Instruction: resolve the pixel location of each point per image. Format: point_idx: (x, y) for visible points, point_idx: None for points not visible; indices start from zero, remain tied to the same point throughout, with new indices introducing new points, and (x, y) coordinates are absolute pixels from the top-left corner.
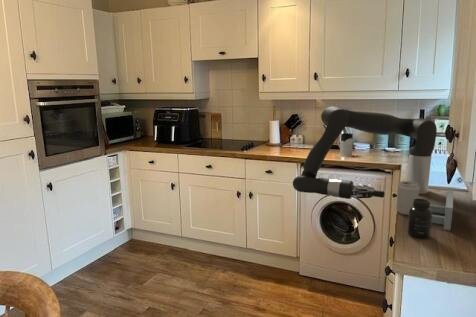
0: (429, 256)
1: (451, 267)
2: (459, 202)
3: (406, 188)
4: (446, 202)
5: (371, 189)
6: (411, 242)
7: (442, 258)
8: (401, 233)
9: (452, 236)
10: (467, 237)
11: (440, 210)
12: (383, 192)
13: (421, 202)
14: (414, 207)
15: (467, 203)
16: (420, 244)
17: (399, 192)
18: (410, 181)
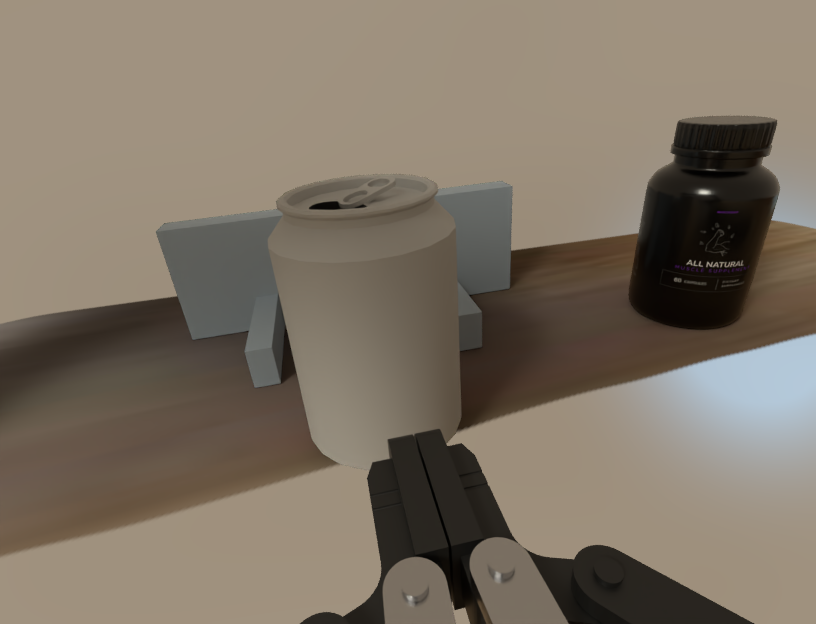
0: (811, 257)
1: (792, 230)
2: (41, 335)
3: (447, 213)
4: (434, 196)
5: (433, 620)
6: (790, 300)
7: (770, 245)
8: (759, 341)
9: (553, 267)
10: (517, 254)
11: (281, 320)
12: (439, 429)
13: (754, 116)
14: (760, 163)
15: (57, 318)
16: (760, 285)
17: (442, 288)
18: (279, 198)
